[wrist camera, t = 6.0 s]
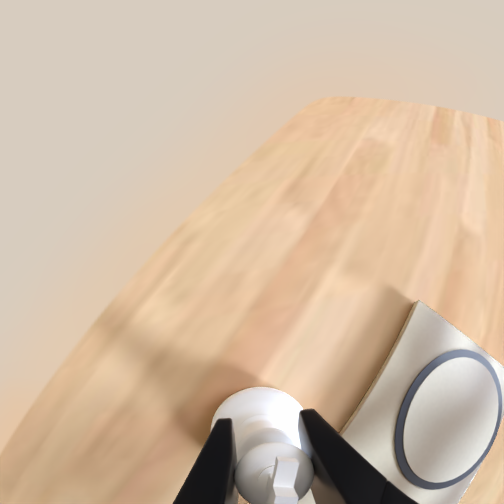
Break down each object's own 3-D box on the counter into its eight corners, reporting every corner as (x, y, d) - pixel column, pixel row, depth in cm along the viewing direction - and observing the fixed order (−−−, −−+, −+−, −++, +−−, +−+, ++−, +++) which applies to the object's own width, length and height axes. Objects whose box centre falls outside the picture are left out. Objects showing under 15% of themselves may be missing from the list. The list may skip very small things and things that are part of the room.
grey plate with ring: (511, 379, 13) (518, 377, 13) (352, 608, 6) (355, 613, 6) (414, 302, 16) (420, 298, 15) (212, 564, 9) (211, 570, 8)
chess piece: (203, 466, 12) (144, 564, 3) (220, 379, 14) (176, 366, 5) (299, 479, 12) (370, 579, 3) (315, 393, 14) (420, 393, 5)
